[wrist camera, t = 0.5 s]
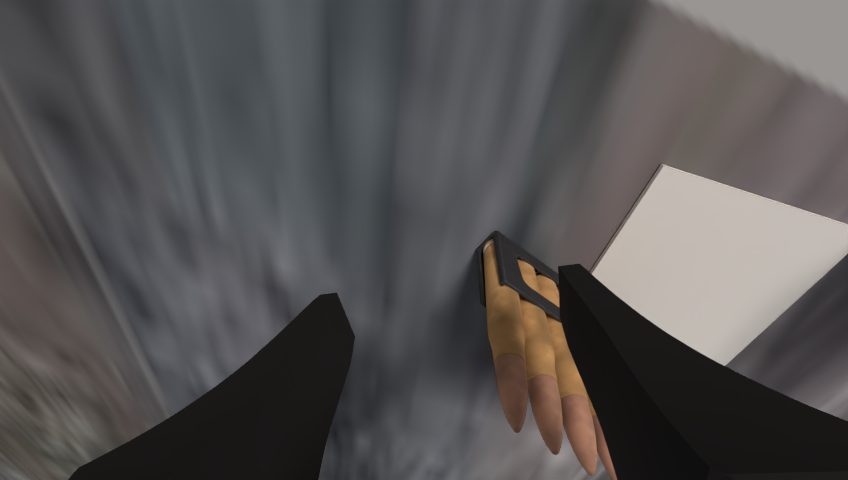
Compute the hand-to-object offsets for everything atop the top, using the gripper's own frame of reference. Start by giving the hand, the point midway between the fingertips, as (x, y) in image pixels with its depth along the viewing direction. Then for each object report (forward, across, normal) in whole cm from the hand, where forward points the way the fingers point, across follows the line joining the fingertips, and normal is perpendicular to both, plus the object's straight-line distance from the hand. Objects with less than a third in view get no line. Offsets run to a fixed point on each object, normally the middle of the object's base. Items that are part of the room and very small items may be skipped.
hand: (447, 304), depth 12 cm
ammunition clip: (+10, -5, +8) cm, 14 cm away
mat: (+10, -12, +12) cm, 20 cm away
